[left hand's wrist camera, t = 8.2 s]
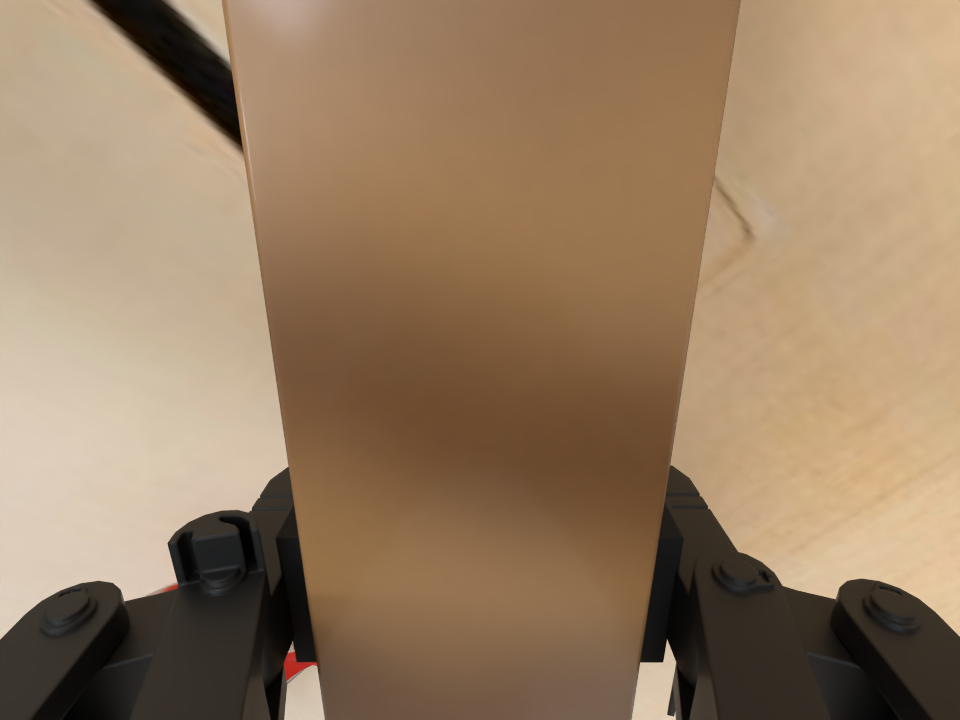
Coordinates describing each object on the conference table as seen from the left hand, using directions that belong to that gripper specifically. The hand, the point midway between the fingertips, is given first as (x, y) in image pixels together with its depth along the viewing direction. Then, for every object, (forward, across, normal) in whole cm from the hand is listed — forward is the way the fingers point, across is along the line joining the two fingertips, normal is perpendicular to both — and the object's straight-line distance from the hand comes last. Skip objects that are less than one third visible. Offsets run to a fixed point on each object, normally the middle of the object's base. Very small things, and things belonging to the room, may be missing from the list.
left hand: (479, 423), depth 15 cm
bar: (+1, 0, -23) cm, 23 cm away
